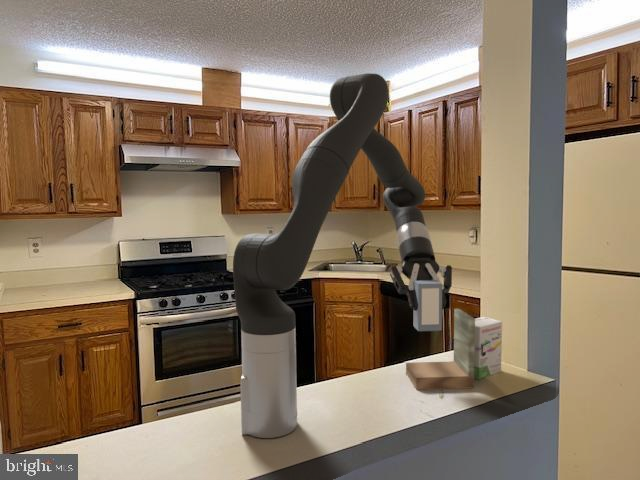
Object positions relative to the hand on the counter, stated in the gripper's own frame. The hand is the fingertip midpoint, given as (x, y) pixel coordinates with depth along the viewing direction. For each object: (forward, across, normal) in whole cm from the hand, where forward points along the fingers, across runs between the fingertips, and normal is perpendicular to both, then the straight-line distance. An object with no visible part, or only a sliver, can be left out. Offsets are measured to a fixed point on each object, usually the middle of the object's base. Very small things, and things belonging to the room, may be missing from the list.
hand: (429, 307), depth 97 cm
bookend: (+11, +2, +12) cm, 16 cm away
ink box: (+8, +13, +15) cm, 22 cm away
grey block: (+2, 0, +4) cm, 5 cm away
